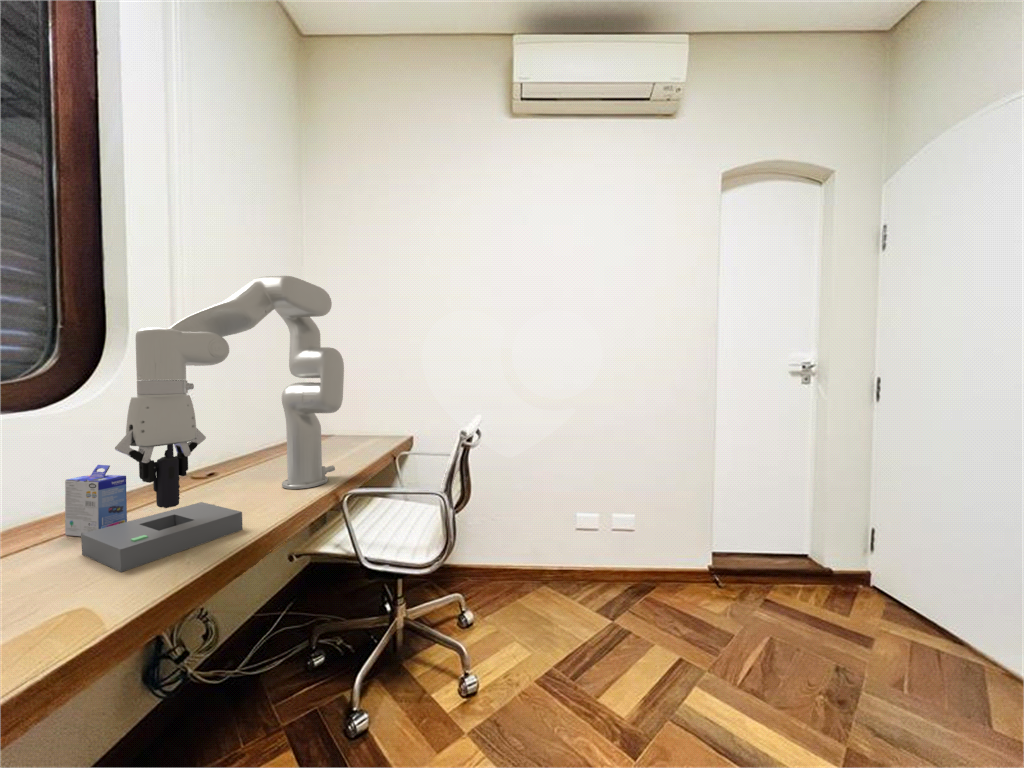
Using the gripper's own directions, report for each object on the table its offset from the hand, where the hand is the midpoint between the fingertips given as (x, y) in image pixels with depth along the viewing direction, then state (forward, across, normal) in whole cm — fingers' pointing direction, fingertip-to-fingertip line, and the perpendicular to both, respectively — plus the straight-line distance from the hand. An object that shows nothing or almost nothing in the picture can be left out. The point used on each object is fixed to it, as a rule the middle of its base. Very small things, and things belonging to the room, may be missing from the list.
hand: (164, 477), depth 79 cm
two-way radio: (+6, 0, 0) cm, 6 cm away
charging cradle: (+13, 0, 0) cm, 13 cm away
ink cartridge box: (+14, +4, -20) cm, 25 cm away
